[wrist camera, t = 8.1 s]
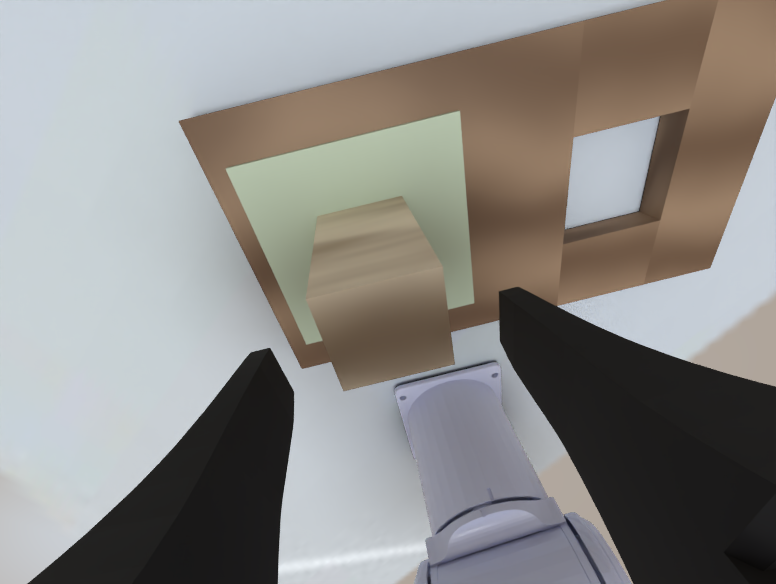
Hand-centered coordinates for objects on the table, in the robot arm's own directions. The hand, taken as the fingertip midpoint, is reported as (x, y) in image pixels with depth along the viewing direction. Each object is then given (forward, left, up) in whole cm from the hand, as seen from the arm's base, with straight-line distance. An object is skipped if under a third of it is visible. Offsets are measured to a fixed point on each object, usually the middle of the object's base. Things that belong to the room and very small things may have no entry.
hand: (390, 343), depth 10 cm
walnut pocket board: (0, -7, -9) cm, 11 cm away
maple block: (0, 0, -7) cm, 7 cm away
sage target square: (0, 0, -8) cm, 8 cm away
